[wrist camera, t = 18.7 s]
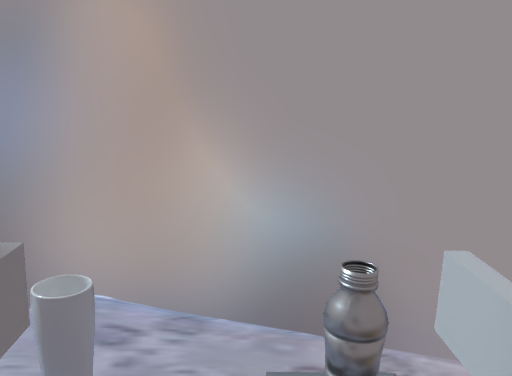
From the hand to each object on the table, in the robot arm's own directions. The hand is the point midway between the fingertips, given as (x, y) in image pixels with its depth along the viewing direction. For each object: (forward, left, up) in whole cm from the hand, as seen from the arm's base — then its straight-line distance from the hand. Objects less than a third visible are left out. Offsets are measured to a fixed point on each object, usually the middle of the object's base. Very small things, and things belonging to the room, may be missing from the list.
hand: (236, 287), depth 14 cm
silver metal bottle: (+11, +28, -30) cm, 43 cm away
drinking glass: (-20, +36, -31) cm, 52 cm away
